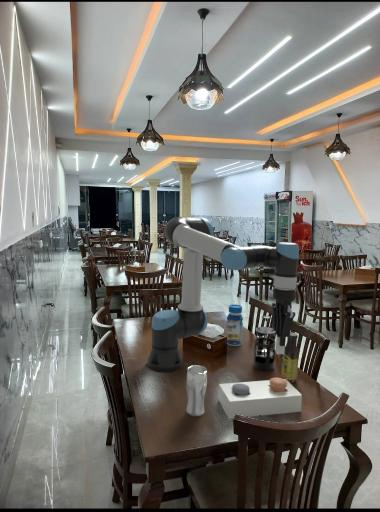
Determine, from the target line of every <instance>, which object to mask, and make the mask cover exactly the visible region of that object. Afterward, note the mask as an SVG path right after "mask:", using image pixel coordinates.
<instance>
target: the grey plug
mask: <svg viewBox="0 0 380 512" xmlns="http://www.w3.org/2000/svg"><path fill="white" fill-rule="evenodd" d="M232 391H233V392H234V393H235V395H236V396H238V395H247V394H248V393H249V392H250V388H249V386H247V385H245V384H234V385H233V386H232Z"/></svg>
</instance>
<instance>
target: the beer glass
mask: <svg viewBox="0 0 380 512" xmlns="http://www.w3.org/2000/svg"><path fill="white" fill-rule="evenodd" d="M207 385H208V369H207V368H206V367H205V366H202V365H195V364H194V365H191V366H188V367H187V370H186V379H185V387H186V394H187V406H186V411H185V412H186V414H187V415H189V416H192V417H200V416H203V415H204V414H205V407H204V402H205V401H204V400H205V396H206V391H207Z"/></svg>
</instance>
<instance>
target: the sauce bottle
mask: <svg viewBox="0 0 380 512" xmlns="http://www.w3.org/2000/svg"><path fill="white" fill-rule="evenodd" d="M298 336H299V334H298V333H296V332H290V336H289V337H286V338H287V339H286V343H285V351H284V354H282V356H281V357H282V358H281V359H282V360H281V373H280V378H282V379H286V380H287V381H288V382H289V383H290V384H294V383H296V381H297V378H298V368H299V367H298V366H299V354H300V352H299V350H300V349H299V348H298V346H297V345H298V344H297V343H298V341H297V340H298Z"/></svg>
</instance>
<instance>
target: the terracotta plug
mask: <svg viewBox="0 0 380 512" xmlns="http://www.w3.org/2000/svg"><path fill="white" fill-rule="evenodd" d="M269 380H270V385H271V386H272V390H273V391H274V392H284V388H286V387H287V381H286V380H284V379H282V378H281V377H271V378H270V379H269Z"/></svg>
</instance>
